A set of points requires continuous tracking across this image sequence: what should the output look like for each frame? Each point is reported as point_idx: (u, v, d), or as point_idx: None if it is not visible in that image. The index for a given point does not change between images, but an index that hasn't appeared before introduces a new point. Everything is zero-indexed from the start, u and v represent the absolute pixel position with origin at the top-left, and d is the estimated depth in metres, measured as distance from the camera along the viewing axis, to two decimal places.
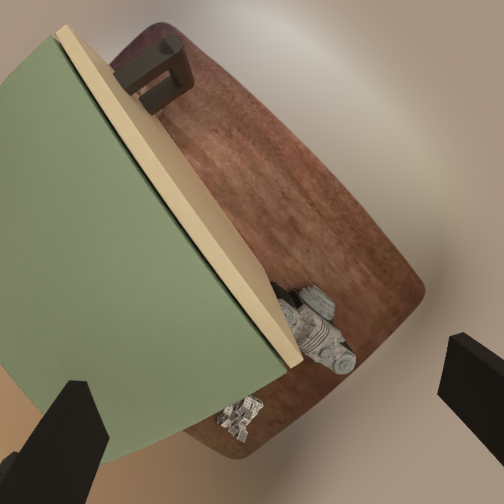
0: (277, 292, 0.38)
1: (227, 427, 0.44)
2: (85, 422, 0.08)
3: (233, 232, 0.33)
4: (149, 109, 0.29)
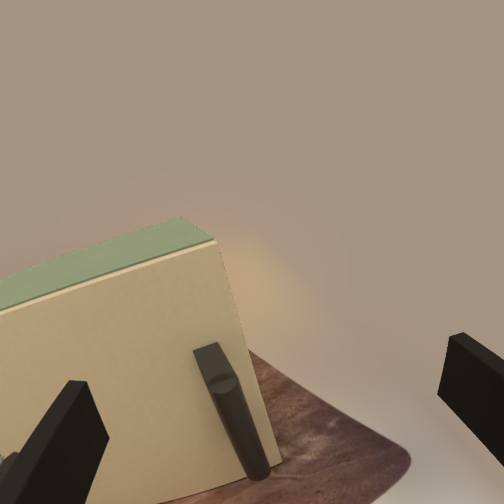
0: None
1: None
2: (85, 422, 0.08)
3: None
4: None
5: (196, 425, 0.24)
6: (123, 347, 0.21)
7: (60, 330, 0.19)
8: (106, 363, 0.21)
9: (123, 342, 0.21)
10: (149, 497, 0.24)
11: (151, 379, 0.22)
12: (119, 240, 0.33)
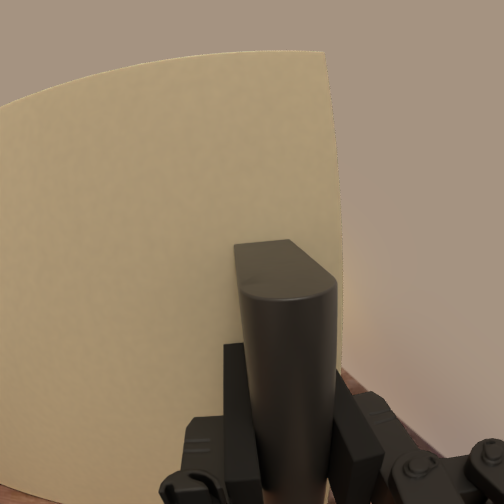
0: None
1: None
2: None
3: None
4: None
5: (202, 412, 0.13)
6: (101, 204, 0.11)
7: (15, 155, 0.10)
8: (64, 232, 0.11)
9: (104, 193, 0.11)
10: (99, 501, 0.14)
11: (136, 288, 0.11)
12: None
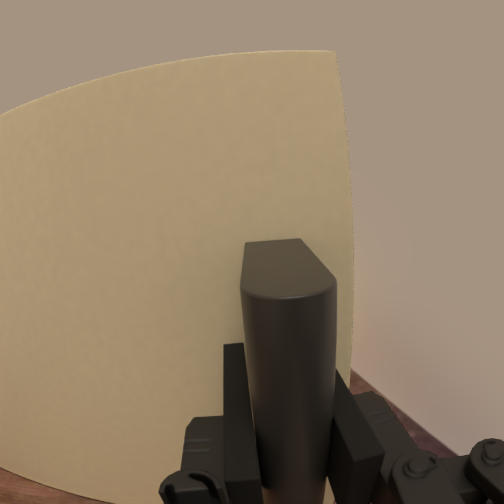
0: None
1: None
2: None
3: (9, 407, 0.14)
4: None
5: (211, 407, 0.13)
6: (116, 201, 0.11)
7: (32, 153, 0.11)
8: (80, 228, 0.11)
9: (119, 191, 0.11)
10: (107, 492, 0.15)
11: (149, 284, 0.12)
12: None
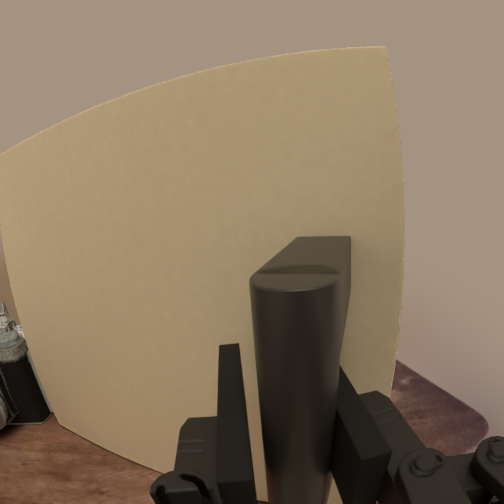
0: (25, 382, 0.22)
1: (15, 326, 0.39)
2: None
3: (76, 370, 0.19)
4: None
5: (256, 391, 0.14)
6: (182, 192, 0.13)
7: (110, 147, 0.14)
8: (150, 215, 0.14)
9: (184, 183, 0.13)
10: (153, 459, 0.18)
11: (208, 269, 0.13)
12: None
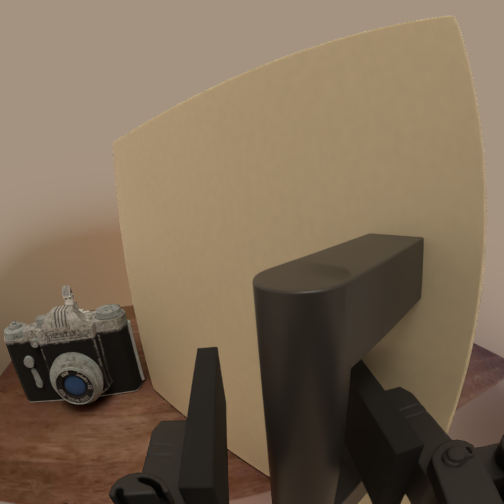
0: (125, 351, 0.29)
1: None
2: (220, 384, 0.11)
3: (172, 341, 0.23)
4: None
5: None
6: (265, 181, 0.13)
7: (204, 136, 0.16)
8: (238, 201, 0.15)
9: (267, 172, 0.13)
10: None
11: (287, 259, 0.13)
12: None
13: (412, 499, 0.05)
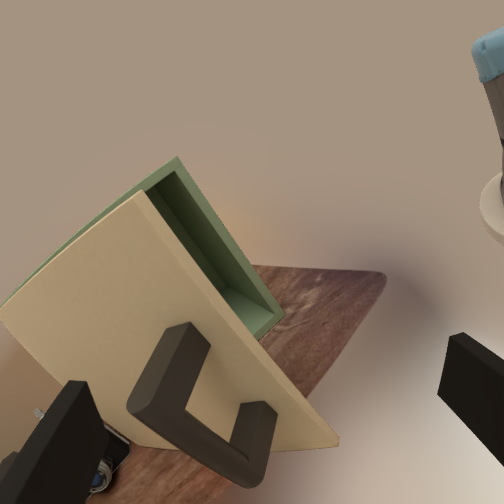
0: None
1: None
2: (85, 422, 0.08)
3: (123, 413, 0.28)
4: (241, 406, 0.21)
5: (210, 399, 0.21)
6: (102, 320, 0.19)
7: (53, 304, 0.20)
8: (97, 333, 0.20)
9: (99, 315, 0.19)
10: None
11: (141, 351, 0.20)
12: None
13: None
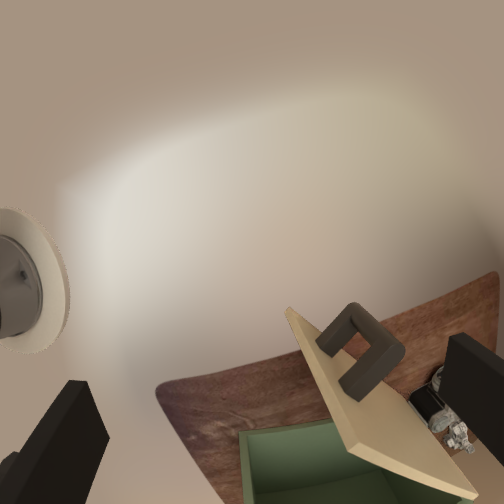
0: (424, 408, 0.40)
1: (458, 446, 0.47)
2: (85, 422, 0.08)
3: (402, 408, 0.35)
4: (333, 355, 0.31)
5: (347, 371, 0.31)
6: (395, 434, 0.23)
7: (427, 462, 0.21)
8: (401, 434, 0.24)
9: (396, 436, 0.22)
10: None
11: (377, 410, 0.26)
12: None
13: None
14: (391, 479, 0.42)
